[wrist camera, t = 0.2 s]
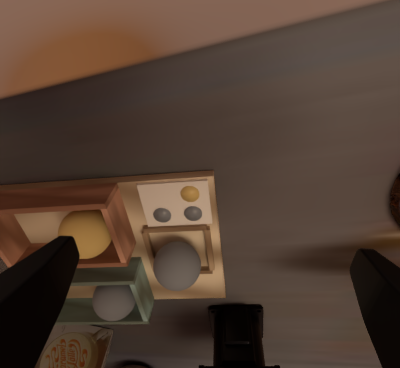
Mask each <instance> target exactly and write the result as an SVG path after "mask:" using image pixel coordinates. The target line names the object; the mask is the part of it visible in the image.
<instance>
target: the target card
mask: <svg viewBox="0 0 400 368" xmlns="http://www.w3.org/2000/svg"><path fill="white" fill-rule="evenodd" d="M137 189H138V192H139V196H140V200H141V203H142V207H143V210H144V214H145V217H146V221H147V225H148V227H154V226H175V225H195V224H212V213H211V204H210V195H209V187H208V179H194V180H180V181H165V182H150V183H137Z"/></svg>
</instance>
